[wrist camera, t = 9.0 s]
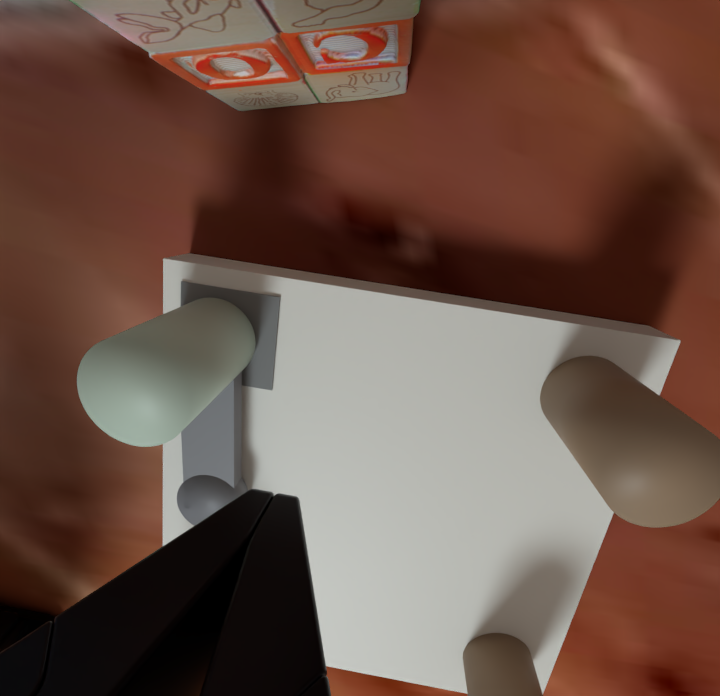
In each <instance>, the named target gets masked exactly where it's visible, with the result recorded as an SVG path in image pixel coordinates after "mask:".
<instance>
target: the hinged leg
mask: <svg viewBox="0 0 720 696" xmlns="http://www.w3.org/2000/svg"><path fill="white" fill-rule="evenodd" d="M255 344H256V342H255V334H254V330H253V327H252V325H251V323H250V321H249V319H248V318H247V317H246V315H245V314H244V313H243V312H242V311H241V310H240V309H239V308H238V307H236V306H235V305H233V304H232V303H230V302H228V301H226V300H223V299H219V298H210V297H208V298H201V299H198V300H195V301H193V302H190V303H188V304H186V305H183V306H181V307H179V308H176V309H174V310H172V311H170V312H167V313H165V314H163V315H160V316H158V317H156V318H153V319H151V320H149V321H147V322H144V323H142V324H140V325H137V326H135V327H133V328H130V329H128V330H126V331H123V332H121V333H119V334H117V335H114V336H112V337H110V338H107V339H105V340H103V341H100V342H99V343H97V344H95V345H94V346H93V347H92V348H90V349H89V350H88V352H87V353H86V354H85V355H84V357H83V359H82V360H81V363H80V365H79V368H78V373H77V389H78V394H79V397H80V400H81V403H82V405H83V407H84V409H85V411H86V412H87V414H88V415H89V417H90V418H91V419H92V421H93V422H94V423H95V424H96V425H97V426H98V427H99V428H100V429H101V430H103V431H104V432H105V433H107V434H108V435H109V436H111V437H113V438H115V439H116V440H119V441H121V442H123V443H126V444H130V445H134V446H142V447H150V446H157V445H161V444H164V443H167V442H169V441H171V440H172V439H174V438H175V437H176V436H178V435H179V434H180V433H181V440H182V463H183V483H182V484H181V486H180V487H179V489H178V492H177V504H178V508H179V510H180V512H181V514H182V515H183V516H184V518H185V519H186V520H187V521H188V522H190V523H191V524H192V525H194V526H195V525H196V524H198V523H199V522H201V521H202V520H204V519H205V518H207V517H208V516H210V515H211V514H213V513H214V512H216V511H218V510H219V509H221V508H222V507H224V506H225V505H227V504H228V503H230V502H231V501H233V500H234V499H236V498H237V497H239V496H240V495H242V494H243V493H245V492H246V491H248V488H247V485H246V483H245V481H244V480H243V478H242V477H241V447H242V370H243V369H244V368H245V367H246V366H247V365H248V364H249V363H250V361H251V359H252V357H253V355H254V351H255Z"/></svg>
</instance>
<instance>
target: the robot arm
mask: <svg viewBox="0 0 720 696" xmlns="http://www.w3.org/2000/svg"><path fill="white" fill-rule="evenodd" d="M326 675H327V670H326V663H325V657H324V651H323V645H322V638H321V632H320V626H319V619H318V613H317V607H316V601H315V594H314V588H313V582H312V575H311V569H310V563H309V557H308V550H307V544H306V538H305V532H304V525H303V519H302V513H301V506H300V500H299V498H298V497H297V496H292V495H287V494H281V493H278V494H275V496H274V493H273V492H270V491H265V490H259V489H250V490H248V491H246V492H245V493H243V494H242V495H240V496H239V497H237V498H236V499H234V500H233V501H231V502H230V503H228V504H227V505H225V506H224V507H222V508H221V509H219V510H218V511H216V512H214V513H213V514H211V515H210V516H208V517H207V518H205V519H204V520H202V521H201V522H199V523H198V524H196V525H195V526H193V527H192V528H190V529H189V530H187V531H186V532H184V533H182V534H181V535H179V536H178V537H176V538H175V539H173V540H172V541H170V542H169V543H167V544H166V545H164V546H163V547H161V548H160V549H158V550H157V551H155V552H154V553H152V554H150V555H149V556H147V557H146V558H144V559H143V560H141V561H140V562H138V563H137V564H135V565H134V566H132V567H131V568H129V569H128V570H126V571H125V572H123V573H122V574H120V575H118V576H117V577H115V578H114V579H112V580H111V581H109V582H108V583H106V584H105V585H103V586H102V587H100V588H99V589H97V590H96V591H94V592H93V593H91V594H90V595H88V596H86V597H85V598H83V599H82V600H80V601H79V602H77V603H76V604H74V605H73V606H71V607H70V608H68V609H67V610H65V611H64V612H62V613H61V614H59V615H58V616H56V617H54V616H51V615H46V614H41V613H36V612H31V611H26V610H21V609H16V608H11V607H6V606H0V696H331V693H330V686H329V680H328V678H327V677H326Z"/></svg>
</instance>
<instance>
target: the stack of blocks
mask: <svg viewBox="0 0 720 696" xmlns="http://www.w3.org/2000/svg"><path fill="white" fill-rule="evenodd" d="M69 1H71V2H72V3H74V4H75V5H77V6H78V7H80V8H81V9H83V10H84V11H86V12H87V13H89V14H90V15H92V16H93V17H95V18H96V19H98V20H99V21H101V22H102V23H104V24H105V25H107V26H109V27H110V28H112V29H113V30H115V31H116V32H118V33H119V34H121V35H122V36H124V37H125V38H126V39H128V40H129V41H131V42H133V43H134V44H136V45H138V46H140V47H141V48H143V49H144V50H145V51H148V52H149V57H150V58H152V59H153V60H155V61H156V62H158V63H159V64H161V65H162V66H164V67H166V68H167V69H169V70H170V71H172V72H173V73H175V74H177V75H178V76H180V77H182V78H183V79H185V80H187V81H188V82H190V83H192V84H193V85H195V86H196V87H198V88H200V89H203V90H206V92H207V93H209V94H211V95H213V96H214V97H216V98H218V99H220V100H221V101H223V102H224V103H226V104H228V105H230V106H231V107H233V108H235V109H236V110H239V111H247V110H255V109H265V108H275V107H285V106H295V105H305V104H314V103H319V102H320V103H330V102H343V101H354V100H362V99H371V98H379V97H386V96H392V95H398V94H403V93H405V92H407V83H408V64H410V58H411V49H412V34H413V17H415V16H416V15H417V14H418V12H419V9H420V2H421V0H69Z"/></svg>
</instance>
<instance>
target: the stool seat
mask: <svg viewBox="0 0 720 696" xmlns="http://www.w3.org/2000/svg"><path fill="white" fill-rule="evenodd" d="M208 297H210V298H219V299H223V300H226V301H228V302H230V303H232V304H233V305H235V306H236V307H238V308H239V309H240V310H241V311H242V312H243V313H244V314H245V315H246V317H247V318H248V319H249V321H250V323H251V325H252V327H253V330H254V334H255V342H256V344H255V351H254V355H253V357H252V359H251V361H250V363H249V364H248V365H247V366H246V367H245V368H244V369H243V370H242V447H241V477H242V478H243V480H244V481H245V483H246V485H247V488H248V490H250V489H259V490H265V491H270V492H273V493H274V496H275V494H278V493H281V494H287V495H292V496H297V497H298V498H299V500H300V506H301V513H302V519H303V525H304V532H305V538H306V544H307V550H308V557H309V563H310V569H311V575H312V582H313V588H314V594H315V601H316V607H317V613H318V619H319V626H320V632H321V638H322V645H323V651H324V657H325V663H326V666H329V667H334V668H339V669H344V670H349V671H354V672H359V673H364V674H370V675H375V676H380V677H385V678H390V679H395V680H400V681H405V682H410V683H415V684H421V685H426V686H431V687H436V688H441V689H446V690H451V691H456V692H461V693H466V694H468V696H543V692H544V690H545V687H546V685H547V682H548V680H549V677H550V675H551V672H552V669H553V667H554V664H555V662H556V659H557V657H558V654H559V651H560V649H561V646H562V644H563V641H564V639H565V636H566V634H567V631H568V628H569V626H570V623H571V621H572V618H573V616H574V613H575V610H576V608H577V605H578V603H579V600H580V598H581V595H582V593H583V590H584V587H585V585H586V582H587V580H588V577H589V575H590V572H591V569H592V567H593V564H594V562H595V559H596V557H597V554H598V552H599V549H600V546H601V544H602V541H603V539H604V536H605V534H606V531H607V529H608V526H609V523H610V521H611V518H612V516H613V513H615V514H616V515H618V516H619V517H621V518H622V519H624V520H626V521H628V522H630V523H633V524H636V525H640V526H645V527H669V526H674V525H678V524H682V523H685V522H687V521H690V520H692V519H694V518H696V517H698V516H700V515H701V514H703V513H704V512H706V511H707V510H708V509H709V508H711V507H712V506H713V505H714V504H715V503H716V502H717V501H718V500H719V498H720V440H719V439H718V438H717V437H716V436H715V435H714V434H712V433H711V432H710V431H708V430H707V429H706V428H704V427H703V426H701V425H700V424H699V423H697V422H696V421H694V420H693V419H692V418H690V417H689V416H687V415H686V414H684V413H683V412H682V411H680V410H679V409H677V408H676V407H675V406H673V405H672V404H670V403H669V402H668V401H666V400H665V399H663V398H662V397H661V396H659V395H660V393H661V390H662V388H663V385H664V383H665V380H666V377H667V375H668V372H669V370H670V367H671V365H672V362H673V359H674V357H675V354H676V352H677V349H678V347H679V344H680V342H681V340H678V339H676V338H674V337H672V336H670V335H668V334H665V333H663V332H661V331H659V330H657V329H655V328H653V327H650V326H647V325H641V324H635V323H628V322H622V321H616V320H609V319H603V318H596V317H590V316H584V315H577V314H571V313H565V312H558V311H552V310H546V309H539V308H533V307H527V306H520V305H514V304H508V303H501V302H495V301H489V300H482V299H476V298H470V297H463V296H457V295H451V294H444V293H438V292H432V291H425V290H419V289H413V288H406V287H400V286H394V285H387V284H381V283H375V282H368V281H362V280H356V279H349V278H343V277H337V276H330V275H324V274H318V273H311V272H305V271H299V270H292V269H286V268H280V267H273V266H267V265H261V264H254V263H248V262H242V261H235V260H229V259H223V258H216V257H210V256H204V255H197V254H191V253H188V254H183V255H178V256H173V257H168V258H163V314H165V313H167V312H170V311H172V310H174V309H176V308H179V307H181V306H183V305H186V304H188V303H190V302H193V301H195V300H198V299H201V298H208ZM182 483H183V463H182V440H181V433H180V434H179V435H178V436H176V437H175V438H174V439H172V440H171V441H169V442H167V443H164V444H163V546H164V545H166V544H167V543H169V542H170V541H172V540H173V539H175V538H176V537H178V536H179V535H181V534H182V533H184V532H186V531H187V530H189V529H190V528H192V527H193V526H194V525H192V524H191V523H190V522H188V521H187V520H186V519H185V518H184V516H183V515H182V514H181V512H180V510H179V508H178V504H177V492H178V489H179V487H180V486H181V484H182Z"/></svg>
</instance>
